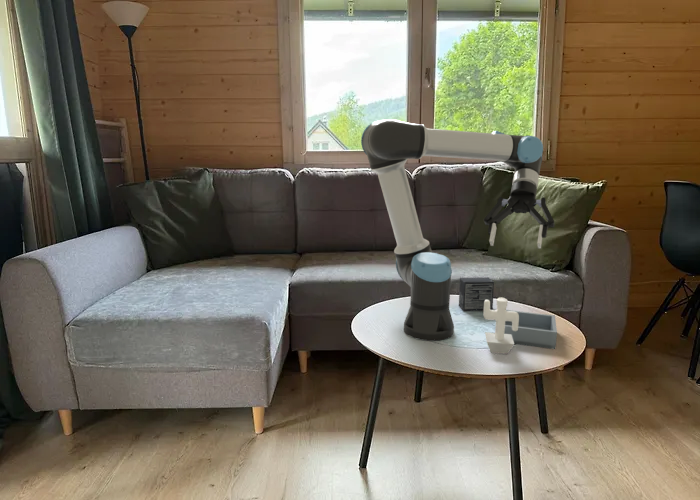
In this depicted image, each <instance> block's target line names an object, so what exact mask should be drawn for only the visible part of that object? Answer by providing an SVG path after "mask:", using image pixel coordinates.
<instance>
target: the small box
mask: <svg viewBox="0 0 700 500" xmlns="http://www.w3.org/2000/svg"><path fill="white" fill-rule="evenodd" d="M458 289H459V292H458V293H459V295H458V307H459V309H461V311H463V312H479V311H480V312H484V301H485V300H489V301H490V310H494V289H495V281H494V280H492V279H491V278H490V277H486V276H485V277H460V278H459V287H458Z"/></svg>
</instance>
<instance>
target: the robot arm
mask: <svg viewBox="0 0 700 500" xmlns="http://www.w3.org/2000/svg"><path fill="white" fill-rule="evenodd" d="M360 144H361V149H362V150H363V152H364V154H365V155H366V156H367V160H368V164H369V167H370V170H371V171H372V172H374V173H376V174H377V176H378V181H379V185H380V187H381V191H382V196H383V199H384V202H385V206H386V209H387V213H388V216H389V220H390V224H391V227H392V231H393V235H394V238H395V241H396V247H395V248H394V250H393V252H394V256H395V259H396V260H395V267H396V273H397V274H398V276H399V277H400V279H401V280H402V281H404V282H405V283H406V284H407V285H408V286H409V288H410V303H409V304H410V305H409V309H408V311H407V313H406V316H405V319H404V322H403V332H404V333H405V334H406V335H407V336H408V337H411V338H414V339H417V340H421V341H422V340H423V341H443V340H448V339H450V338H451V337H453V336H454V333H455V332H454V331H455V326H454V321H453V319H452V318H453V317H452V314H451V311H450V300H451V299H450V298H451V286H452V285H451V283H452V282H451V281H452V273H453V272H452V271H453V270H452V262H451V260H450V258H449V257H447V256H445V255H443V254H439V253H437V252H433V251H432V248H431V245H430V241H429V240H428V239H426V238H424V236H423V232H422V229H421V224H420V222H419V217H418V213H417V210H416V205H415V201H414V197H413V194H412V190H411V186H410V183H409V179H408V175H407V172H406V167H405V165H406V162H407V161H408V160H410V159H411V160H412V159H414V160H420V159H421V158H423V157H434V158H435V157H436V158H453V159H454V158H455V159H470V160H483V161H484V160H485V161H499V162H502V163H503V164H506V165H508V166H509V167H511V168H513V169H514V172H513V178H512V185H511V188H510V189H511V190H510V195H509V198H507V199H506V198H503V196H500V197H499V198H498V200H497V203H496V204H495V205H494V206H493V207H492V209H491V210H490V211H489V212H488V214H486V216H485V217H484V218H483V222H484V224H485V226H488V229H487V233H488V236H489V239H488V241H489V245H490V246H491V247H494V244H495V238H496V233H497V225H498V224H499V223H501V222H502V221H504V219H506V218H507V217H508V216H510V215H512V214H514V213H515V214H526V213H528V214H530V216H532V217H533V218H534V219H535V221H536V222H538V224H539V229H538V236H537V242H536V245H537V249H538V250H539V249H540V250H541V249H542V243H543V239H545V238H546V237H547V236H548V229H549V228H555V220H554V218H553V215H552V214H551V211H550V210H549V208H548V206H547V201H546V197H541V198H540V199H536V197H537V191H538V185H539V180H540V179H539V178H540V171H541V168H542V167H541V166H542V162H543V152H544V145H543V142H542V140H541V139H540V138H539V137H537V136H533V135H529V134H528V135H519V134H518V135H516V134H506V133H504V132H501V131H499V130H494V131H492V132H491V133H489V132H479V131H477V132H476V131H463V130H452V129H438V128H427V127H426V126H425V125H424V124H423V123H422V124H419V123H411V122H408V121H406V122H405V121H402V120H398V119H390V118H387V119H380V120H379V119H378V120H375V121H373V122H371V123H369V124H368V125H367V126H366V127H365V129H364V130H363V132H362V134H361V141H360ZM505 206H506V207H505ZM536 206H538V207H539V208H541V211H542V213H543V214H544V217H545V218H546V219H545V218H544V217H543V216H542V215H541V214H540V212H539V211H537V209H536V208H535V207H536ZM503 207H505V208H504V209H503Z"/></svg>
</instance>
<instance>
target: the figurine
mask: <svg viewBox="0 0 700 500" xmlns="http://www.w3.org/2000/svg"><path fill="white" fill-rule="evenodd" d="M507 308H508V299H507V298H505V297H502V296H501V297H498V298H497V299H496V309H493V310H490V301H489V300H485V301H484V311H482V312H483V313H482V314H483V318H484V320H487V321H488V320H489V321H495V328H494V329H495V330H494V332H488V331H487V332H486V331H485V333H484V335H485V339H486V343H487V346H488V349H489V352H490V353H491V354H499V355H500V354H502V355H508V354H509V352H510V351H511V350H512V348H513V347H514V346H515V344H514V341H513V338H512V335H511V334H504V331H505V321H511V322H512V330H513V331H517V330H518V323H519V314H518V313H517V312H514V311H515V310H512V311H506V310H507Z"/></svg>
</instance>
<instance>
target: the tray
mask: <svg viewBox="0 0 700 500" xmlns="http://www.w3.org/2000/svg"><path fill="white" fill-rule="evenodd" d="M506 311H514V312H517V313H518V314H519V323H518V330H517V331H513V330H512V322H511V321H505V331H504V334H511V335H512V338H513V341H514V345H519V346H520V345H521V346H528V347H534V348H542V349H543V348H544V349H552V350H556V347H557V346H556V345H557V337H558V336H557V335H558V329H557V323H556V322H557V321H556V315H553V314H548V313H547V314H544V313H536V312H530V311H529V312H527V311H518V310H513V309H512V310H509V309H506Z"/></svg>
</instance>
